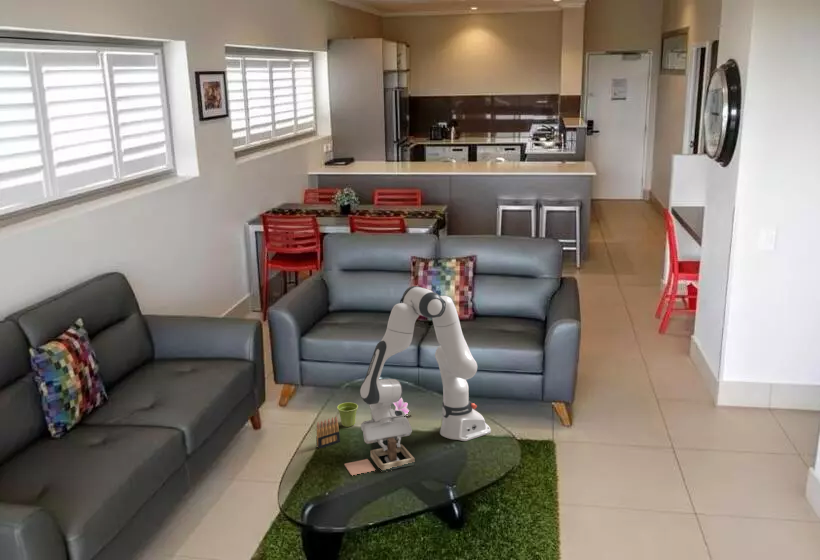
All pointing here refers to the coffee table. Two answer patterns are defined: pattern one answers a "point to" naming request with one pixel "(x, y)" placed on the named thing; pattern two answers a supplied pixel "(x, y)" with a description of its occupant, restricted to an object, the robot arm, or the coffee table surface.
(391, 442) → the wooden post
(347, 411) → the plant pot
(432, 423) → the coffee table surface
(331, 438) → the ammunition clip
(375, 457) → the frame
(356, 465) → the terracotta tile
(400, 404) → the lily
